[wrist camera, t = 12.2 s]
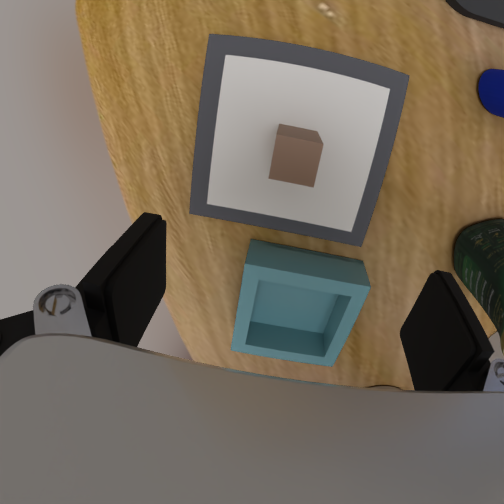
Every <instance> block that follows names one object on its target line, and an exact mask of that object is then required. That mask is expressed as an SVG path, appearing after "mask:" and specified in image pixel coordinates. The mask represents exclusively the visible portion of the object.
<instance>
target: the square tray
mask: <svg viewBox="0 0 504 504" xmlns="http://www.w3.org/2000/svg"><path fill="white" fill-rule="evenodd" d="M370 288H371V286H370V282H369V279H368V276H367V272H366V269H365V266H364V263H363V261H361V260H356V259H351V258H346V257H341V256H336V255H331V254H326V253H321V252H316V251H311V250H306V249H301V248H296V247H291V246H285V245H280V244H275V243H270V242H265V241H259V240H254V239H251V241H250V245H249V249H248V253H247V257H246V261H245V266H244V272H243V278H242V284H241V290H240V296H239V302H238V308H237V314H236V320H235V326H234V332H233V339H232V345H231V350H232V351H237V352H242V353H248V354H253V355H259V356H264V357H270V358H276V359H282V360H288V361H295V362H302V363H309V364H316V365H323V366H331V367H332V366H333V365H334V363H335V361H336V359H337V357H338V355H339V353H340V351H341V349H342V347H343V345H344V343H345V341H346V339H347V337H348V335H349V333H350V331H351V329H352V327H353V325H354V323H355V321H356V319H357V317H358V314H359V312H360V310H361V308H362V306H363V304H364V301H365V299H366V297H367V295H368V292H369V290H370Z"/></svg>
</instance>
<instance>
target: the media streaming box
mask: <svg viewBox="0 0 504 504" xmlns="http://www.w3.org/2000/svg"><path fill="white" fill-rule="evenodd" d="M446 1H447V3H448V4H449V5H450V6H451V7H452V8H454V9H455V10H456V11H457V12H459V13H460V14H462V15H464V16H466V17H469V18H472V19H475V20H479V21H482V22H485V23H488V24H491V25H494V26H497V27H500V28H504V0H446Z"/></svg>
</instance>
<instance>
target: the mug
mask: <svg viewBox="0 0 504 504" xmlns="http://www.w3.org/2000/svg"><path fill="white" fill-rule="evenodd" d="M489 341H490V343H491V345H492V347H493V349H494V351H495V352H494V353H493V354H492V356H491V357H490V358H489V361H490V363H491V362H492V361H493V360H494V359H498V358H500V359H504V356H503V353H502V350H501V344H500V336H499V333H498V331H497V332H495V333H494V334H493V335H492V336H491V337H490V338H489Z"/></svg>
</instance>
